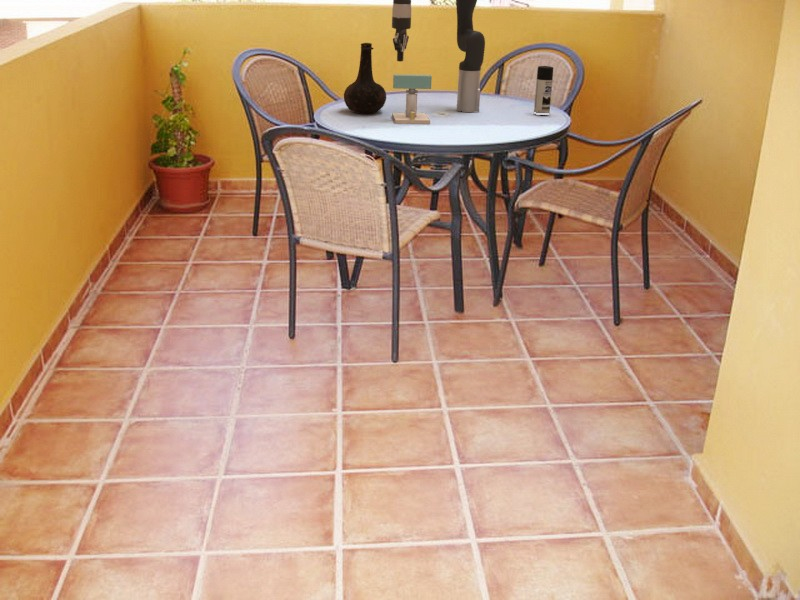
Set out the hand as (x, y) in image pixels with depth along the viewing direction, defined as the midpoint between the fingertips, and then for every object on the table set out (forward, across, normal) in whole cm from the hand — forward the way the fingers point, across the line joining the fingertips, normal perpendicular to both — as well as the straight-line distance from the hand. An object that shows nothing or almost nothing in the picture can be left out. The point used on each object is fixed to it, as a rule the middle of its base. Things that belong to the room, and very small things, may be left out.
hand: (400, 61), depth 339 cm
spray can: (+22, -34, +53) cm, 67 cm away
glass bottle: (+23, -3, -16) cm, 28 cm away
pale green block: (+12, +4, +7) cm, 14 cm away
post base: (+22, +4, +7) cm, 24 cm away
